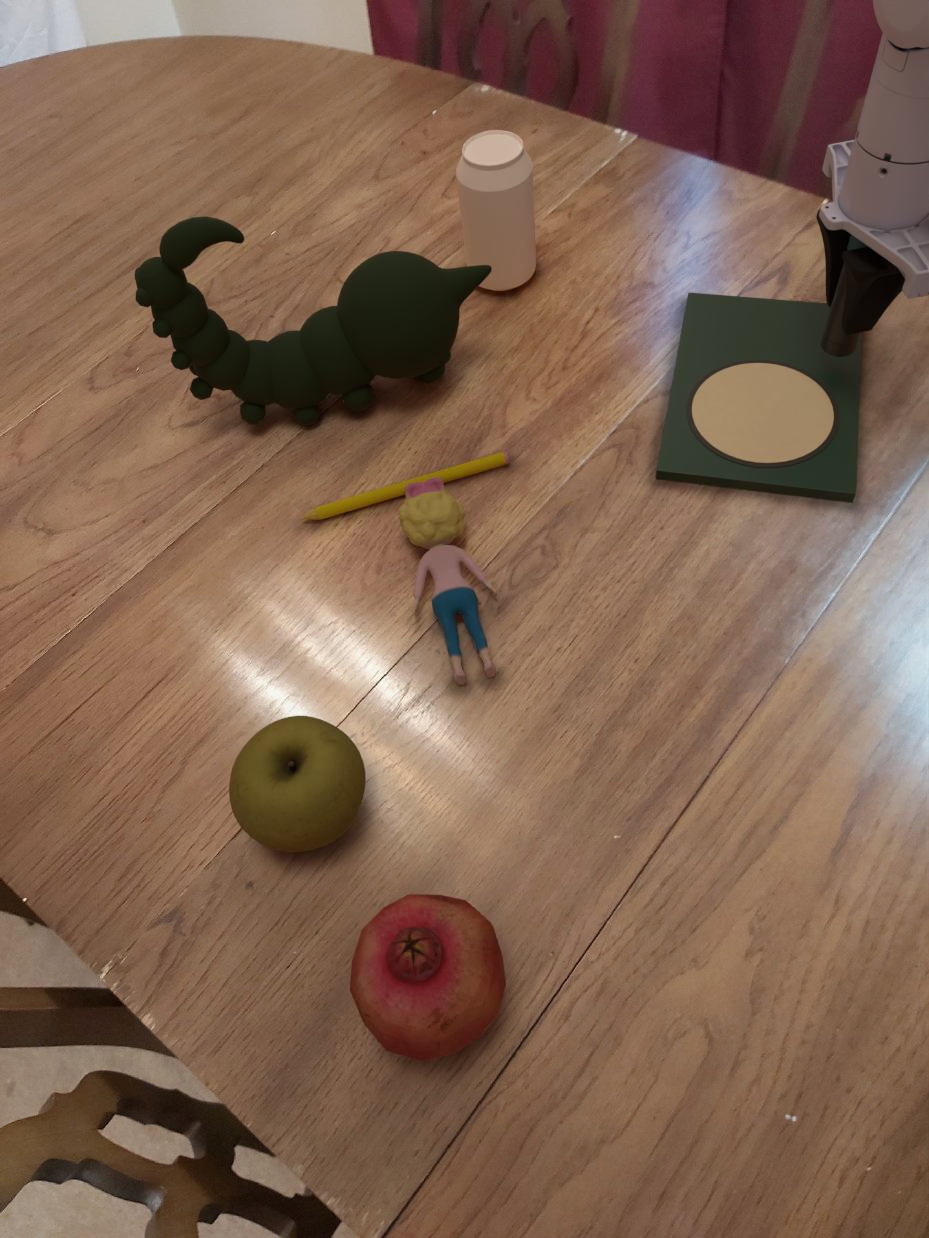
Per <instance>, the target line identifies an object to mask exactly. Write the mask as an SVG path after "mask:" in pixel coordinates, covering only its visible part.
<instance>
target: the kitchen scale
mask: <svg viewBox="0 0 929 1238" xmlns="http://www.w3.org/2000/svg"><path fill="white" fill-rule="evenodd" d="M830 309H831V307H829V306H828V304H827V302H817V301H816V302H814V301H802V300H799V301H798V300H789V299H778V298H777V299H774V298H763V297H750V296H738V295H727V294H713V293H702V292H701V293H699V292H688V293H687V298H686V303H685V309H684V313H683V314H684V315H683V319H682V326H681V331H680V336H679V342H678V347H677V353H676V359H675V364H674V371H673V375H672V380H671V388H670V392H669V396H668V397H669V398H668V404H667V409H666V415H665V420H664V426H663V431H662V437H661V443H660V448H659V454H658V460H657V465H656V469H655V479H656V480H661V481H669V482H679V483H687V484H694V485H703V486H710V487H720V488H727V489H736V490H746V491H753V492H761V493H768V494H769V493H770V494H777V495H787V496H794V497H803V498H810V499H820V500H825V501H826V500H828V501H835V502H845V503H854V500H855V497H856V495H857V477H858V451H859V449H858V448H859V427H860V426H859V421H860V399H861V398H860V395H861V368H862V366H861V365H862V345H863V344H862V342H863V340H862V339H863V332H861V335H860V338H859V341H858V344H857V347H856V350H855V351H854V352H853V353H852V354H850V355H848V356H844V357H836V356H832V355H829V354H827V353H826V352H825V351H824V350H823V349H822V347H821V340H822V336H823V333H824V330H825V326H826V322H827V319H828V315H829V312H830Z"/></svg>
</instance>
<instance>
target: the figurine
mask: <svg viewBox="0 0 929 1238" xmlns="http://www.w3.org/2000/svg"><path fill="white" fill-rule="evenodd" d="M404 496H405V500H404V502H403V504H401V506H400V508H399V510H398V520H399V525H400V527H401V529H402V532H403V534H405V535H406V537H407V538H408V541H409V542H410V543H411V544H413V545H414V546H419V547H420V546H421V547H422V548H423V549H426V550H427V551H426V552H425V553H424V554H423V556H422V558H421V559H420V560H419V562H418V567H417V569H416V572H415V573H416V574H415V578H414V589H413V598H414V602H413V605H412V615H413V617H416V616H417V614H418V613H417V612H418V610H419V606H420V602H421V600H422V598H423V593H424V589H425V585H426V577H427V573H428V572H429V573H430V575H431V577H432V581H433V586H434V587H433V592H432V596H431V606H432V611H433V614H434V616H435V617H436V620H437V621H438V622H439V624H440V626H441V629H442V631H443V635H444V641H445V644H446V649H447V653H448V655H449V658H450V661H451V663H452V667H453V671H454V680H455V683H456V685H458V686H462V685H464V684H465V683H466V674H465V672H464V670H463V667H462V659H463V655H462V651H461V647H460V638H459V631H458V626H457V622H456V614H459V613H460V614H461V616H462V618H463V619H462V620H463V622H464V626H465V628H466V630H467V632H468V634H469V635H470V638H471V639H472V640H473V643H474V646H475V650H476V653H477V654H478V656H479V657H480V658H481V661H482V662H483V671H484V673H485V676H486V677H487V678H489V679H490V678H492V677H493V678H494V676H495V674H496V668H495V666H494V664H493V662H492V659H491V655H490V650H489V645H488V642H487V638H486V637H487V636H486V635H485V631H484V629H483V626H482V623H481V620H480V615H479V614H480V613H479V600H478V596H477V594H476V591H475V588H474V587H472V586H471V585H470V584H469V583H468V582H467V581H466V580H465V579H464V577H463V574H462V570H461V564H463V565H464V566H465V567H466V568H467V569H468V570H469V571H470V573H471V574H472V575H473V576H474V577H475V579H477V580H478V581H479V583H480V584H482V585H483V586H485V587H486V589H487V590H488V591H489V592H490V593H491V594H492V595H493V596H494V597H497V596H498V593H497V590H496V588H495V587H494V585H493V584H491V583H490V582H489V581H488V578H487V576H486V574H485V573H484V572H483V570H482V569H481V567H480V566H479V564H478V563H477V562H476V561H475V560H474V559H473V558H472V557H471V556H470V555H469V554H468V553H467V552H466V550H464V549H462V548H460V547H459V546H456V545H454V544H451V543H452V542H453V541H454V539H456V538H458V537H459V536H461V535H462V534H463V533H464V531H465V530H466V523H465V521H464V519H465V517H466V509H465V506H464V505H463V503H462V502H461V501H459V500H457V499H455V498H454V496H453V495H452V494H451V493H450V492H449V491H448V490H446V489H445V484H444V483H443V481H442V479H441V478H440V477H434V478H430V479H428V480H426V481H425V482H421V483H420V482H414V483H409V484H407V485H406V486H405V495H404Z"/></svg>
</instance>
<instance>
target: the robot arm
mask: <svg viewBox="0 0 929 1238" xmlns="http://www.w3.org/2000/svg"><path fill="white" fill-rule="evenodd" d="M872 5H873V6H872V7H873V12H874V15H875V19H876V22H877V25H878V27H879V29H880V31H881V33H882V34H881V38H880V42H879V45H878V50H877V53H876V56H875V61H874V64H873V68H872V72H871V76H870V79H869V82H868V87H867V90H866V94H865V97H864V102H863V106H862V109H861V114H860V116H859V120H858V123H857V128H856V132H855V136H854V139H851V140H846V141H845V140H844V141H841V142H835V143H830V144H827V146H826V147H827V148H826V151H825V155H824V160H823V164H822V169H821V171H822V173H823V174H824V176H825V177H826V178H831V189H832V190H831V193H832V201H831V202H827V203H824V204H822V205H821V207H820V208H819V209H818V210H817V212H816V217H815V218H816V221H817V224H818V226H819V230H820V233H821V237H822V243H823V250H824V259H825V301H826V302H825V303H827V304H828V306H829V307H831V305H832V302H833V298H834V295H835V291H836V288H837V284H838V281H839V277H840V274H841V270H842V267H843V263H844V265H845V269H846V276H847V292H846V299H845V304H844V309H843V315H842V329H843V331H844V333H845V334H846V335H850V334H855V333H860V332H862V333H864V332H870V331H872V330H873V329H874V327H875V326H876V324H877V323H878V321H879V320H880V319H881V318H882V316H883V315H884V313H885V312H886V311H887V309H888V308H889V307H890V306H891V304H892V303H893V302H894V301H895V299H896V298H897V297H899V295H900V294H902V293H903V295H904V296H905V297H906V299H907V300H910V299H915V298H923V297H927V296H928V297H929V0H872ZM851 234H852V235H853V236H854V237H856V238H857V239H859V240H860V241H862V242H863V243H864V244H866V245H867V246H869V247H864V248H858V249H853V250H848V251H847V246H848V243H849V239H850V236H851Z"/></svg>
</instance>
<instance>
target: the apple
mask: <svg viewBox="0 0 929 1238" xmlns="http://www.w3.org/2000/svg"><path fill="white" fill-rule="evenodd" d="M366 783H367V777H366V768H365V763H364V760H363V757H362V754H361V752H360V750H359V748H358V747H357V745H356V744H355V742H354V741H353V740H352V738H351V737H349V735H347V733H346V732H345V731H343V730H342V729H340V728H338V727H337V726H335V724H332V723H330V722H328V721H325V720H323V719H321V718H318V717H314V716H309V715H291V716H286V717H284V718H280V719H277V720H275V721H273V722H270V723H269V724H267V725H265V726H264V727H262V728H261V729H259V731H256V733H255V734H254V735H253V736H251V738H250V739H249V740H248V741H247V742H246V743H245V744H244V746H242V748H241V750H240V751H239V753H238V754H237V757H236V758H235V760H234V763H233V765H232V768H231V772H230V777H229V786H228V797H229V803H230V807H231V812H232V814H233V816H234V819H235V820H236V822H237V823H238V825H239V826H240V828H241V829H242V830H243V831H244V832H245V833H246V834H247V835H248V836H249V837H250V839H252V840H254V841H256V843H258V844H261V845H263V846H264V847H267V848H269V849H273V850H278V851H281V852H289V853H293V852H294V853H295V852H305V851H312V850H316V849H320V848H324V847H325V846H327V845H328V846H329V844H332V843H334V842H335V841H336V840H338V839H339V838H341V837H342V836H343V835H344V834H345V833H346V832H347V831H348V830H349V828H350V827H351V825H352V824H353V823H354V822H355V820H356V818H357V816H358V813H359V811H360V810H361V806H362V803H363V800H364V797H365V791H366Z"/></svg>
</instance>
